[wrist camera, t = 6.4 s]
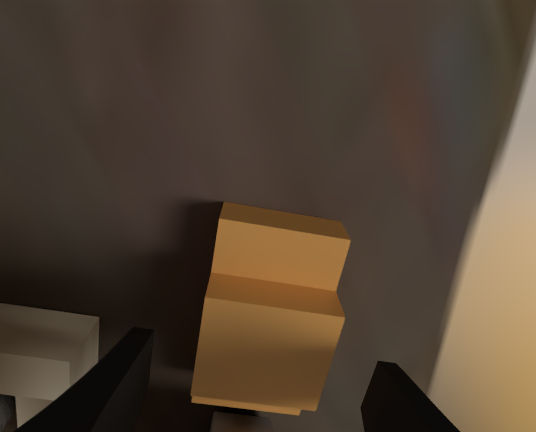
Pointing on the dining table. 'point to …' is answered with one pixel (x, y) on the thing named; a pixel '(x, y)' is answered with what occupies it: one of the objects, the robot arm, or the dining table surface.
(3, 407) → the pin
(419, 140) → the dining table surface
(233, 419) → the trolley
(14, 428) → the pin socket
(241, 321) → the tan stepped block
